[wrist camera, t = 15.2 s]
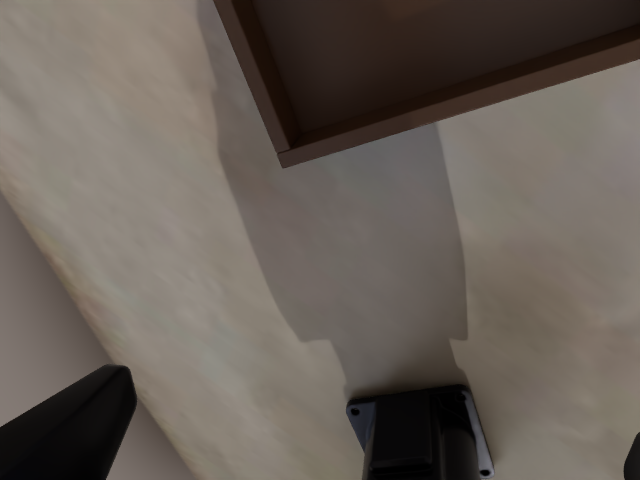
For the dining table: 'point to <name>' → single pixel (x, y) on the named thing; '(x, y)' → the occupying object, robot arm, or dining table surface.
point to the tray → (410, 60)
